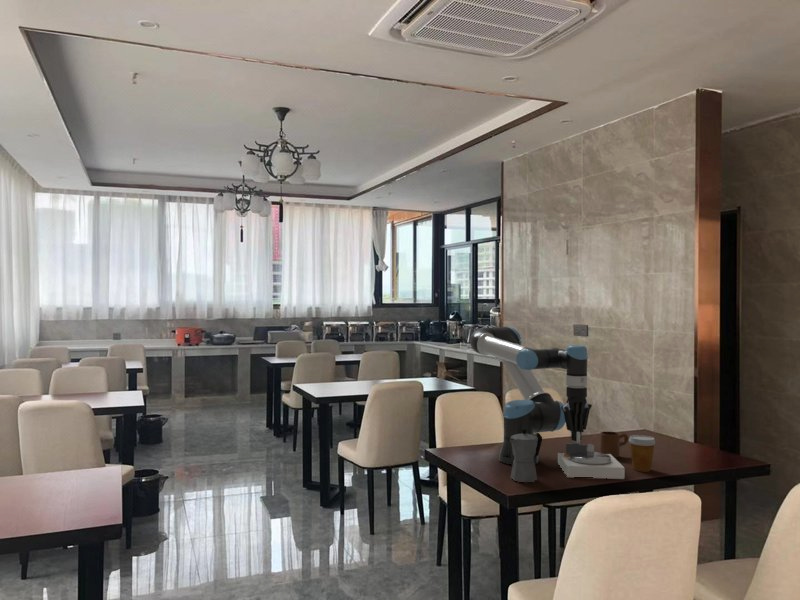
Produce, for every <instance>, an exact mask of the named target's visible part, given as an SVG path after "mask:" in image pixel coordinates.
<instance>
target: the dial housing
mask: <svg viewBox="0 0 800 600" xmlns="http://www.w3.org/2000/svg"><path fill="white" fill-rule="evenodd" d="M607 455H609V456H610V457H611V462H610V463H609V464H604V465H588V464H581V463H577V462H573V461H571V460H570V459H569V455H567V454H566V452H557V464H558V465H560V466H559V467H560V468H562V469H561V470H562V472H563V471H564V472H563V473H564V475H565V474H566V475H567V476H566V475H565V476H566V478H574V477H593V478H592V479H606V478H607V479H611V480H612V479H614V480H625V477H626V476H625V473H626V472H625V470H626V469H625V467H624V466H623V465H622V464H621V463H620V461H618V459H617V458H614V457H613V456H612V455H611V454H607Z"/></svg>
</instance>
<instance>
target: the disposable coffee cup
mask: <svg viewBox="0 0 800 600" xmlns="http://www.w3.org/2000/svg"><path fill="white" fill-rule="evenodd" d="M628 442H629V445H630V446H629V447H630V455H631V456H630V457H631V465H632V469H633V470H634V471H638V472H643V473H647V472H650V471H651V470H652V465H653V464H652V462H653V456H654V448H655V445H656V442H657V441H656V440H655V437H653V436H649V435H643V434H642V435H641V434H640V435H639V434H633V435H630V436H629V438H628Z"/></svg>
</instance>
